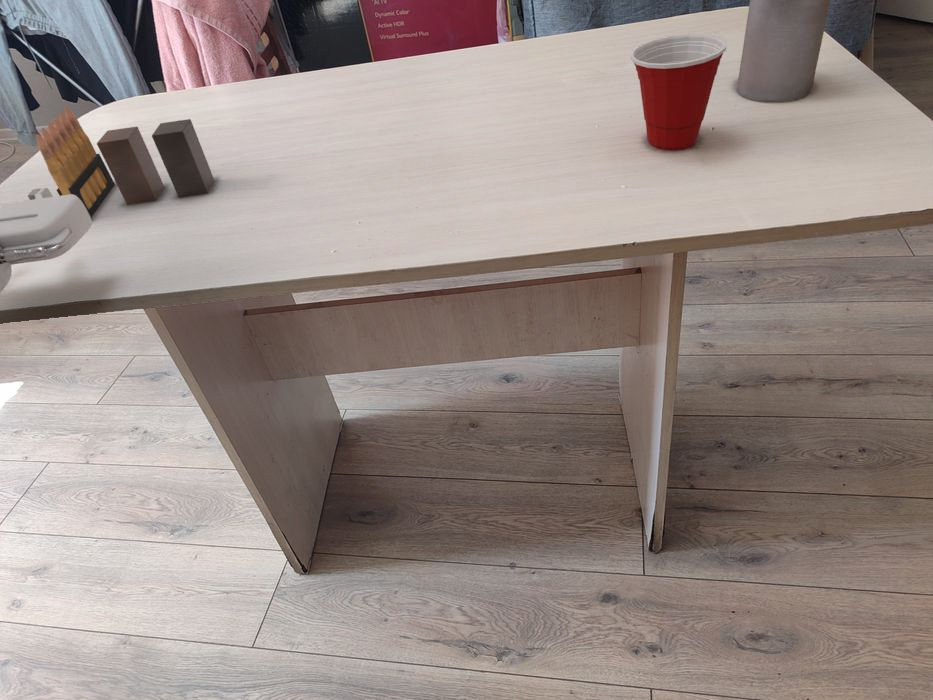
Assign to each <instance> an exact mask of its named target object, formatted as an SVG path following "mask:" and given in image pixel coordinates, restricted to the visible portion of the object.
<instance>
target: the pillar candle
mask: <svg viewBox="0 0 933 700" xmlns="http://www.w3.org/2000/svg"><path fill="white" fill-rule="evenodd" d="M831 1H832V0H749V4H748V12H747V17H746V24H745V32H744V39H743V45H742V46H743V47H742V52H741V58H740V65H739V73H738V77H737V78H738V79H737V85H736V91H737V93H738V94H739V95H740V96H742V97H744V98H746V99H748V100H752V101H754V102H755V101H756V102H780V103H781V102H782V103H785V102H786V103H787V102H793V101H797V100H800V99H803V98H804V97H805V98H806V97H807V96H808V95H809V94H810V93H811V90H812V89H813V87H814V81H815V77H816V72H817V71H816V70H817V65H818V61H819V57H820V52H821V47H822V43H823V38H824V34H825V33H824V32H825V28H826V24H827V19H828V14H829V9H830V6H831Z"/></svg>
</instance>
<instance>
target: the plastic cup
mask: <svg viewBox="0 0 933 700" xmlns="http://www.w3.org/2000/svg"><path fill="white" fill-rule="evenodd" d="M727 47H728V41H727V39H725V38H723V37H722V36H720V35H716V34H710V33H683V34H674V35H673V34H671V35H668V36H664V37H659V38H655V39H652V40H649V41H647V42H644V43H641V44H639V45H638V46H636V47H635V48H633V49H632V50H631V52H630V55H629V57H630V60H631V62H633V64H634V66H635V70H636V71H635V72H637V77H638V80H639V88H640V94H641V101H642V102H641V103H642V111H643V118H644V121H645V129H646V139H647V142H648V143H649V145H650V146H651V147H653V148H654V149H656V150H661V151H670V152H671V151H675V152H676V151H682V150H686V149H688V148H690V149H692V148H693V147H694V146H695V145H696V142H697V140H698V137H699V134H700V130H701V126H702V123H703V121H704V119H705V115H706V112H707V108H708V104H709V100H710V96H711V93H712V89H713V85H714V81H715V78H716V76H717V74H718V68H719V66H720V63H721V59H722V57H723V55H724V53H725V52H727V51H726V50H727Z"/></svg>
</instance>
